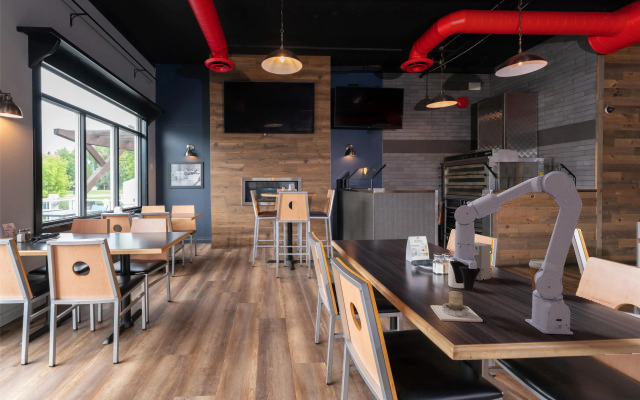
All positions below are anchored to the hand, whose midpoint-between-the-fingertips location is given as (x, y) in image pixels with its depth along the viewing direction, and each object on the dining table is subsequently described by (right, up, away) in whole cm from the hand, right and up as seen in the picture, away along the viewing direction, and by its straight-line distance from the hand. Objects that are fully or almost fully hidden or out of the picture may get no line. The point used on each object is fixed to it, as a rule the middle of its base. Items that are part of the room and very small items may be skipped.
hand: (463, 286), depth 110 cm
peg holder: (-3, -8, -1) cm, 9 cm away
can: (+10, -8, +30) cm, 32 cm away
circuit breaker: (+22, -8, +44) cm, 50 cm away
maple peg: (-3, -8, -1) cm, 8 cm away
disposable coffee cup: (+39, -8, +22) cm, 46 cm away
